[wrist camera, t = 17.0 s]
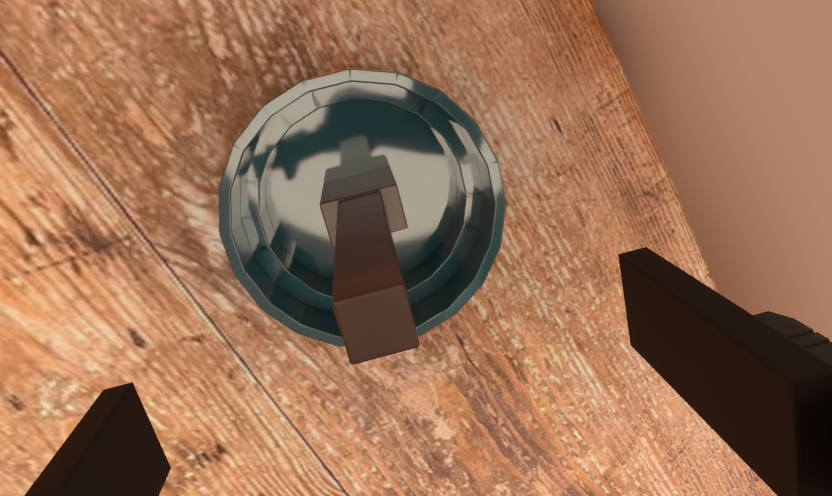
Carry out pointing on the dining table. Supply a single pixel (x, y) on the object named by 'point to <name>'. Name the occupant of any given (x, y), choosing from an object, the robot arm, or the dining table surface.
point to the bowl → (350, 156)
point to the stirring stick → (368, 265)
